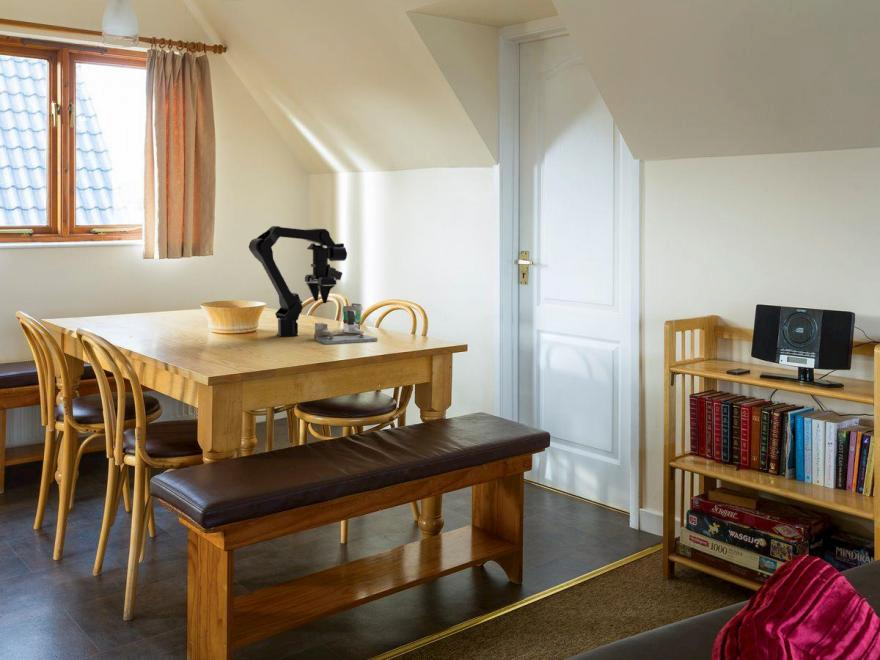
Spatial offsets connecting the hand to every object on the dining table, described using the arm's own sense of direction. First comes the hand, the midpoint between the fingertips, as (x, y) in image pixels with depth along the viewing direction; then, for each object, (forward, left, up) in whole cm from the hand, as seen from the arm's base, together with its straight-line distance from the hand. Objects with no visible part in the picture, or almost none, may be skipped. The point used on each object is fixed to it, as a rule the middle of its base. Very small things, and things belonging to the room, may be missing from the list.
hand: (320, 302), depth 349 cm
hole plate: (+1, -24, -12) cm, 27 cm away
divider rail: (+2, -18, -12) cm, 22 cm away
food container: (+16, +4, -12) cm, 21 cm away
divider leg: (+7, -18, -10) cm, 22 cm away
